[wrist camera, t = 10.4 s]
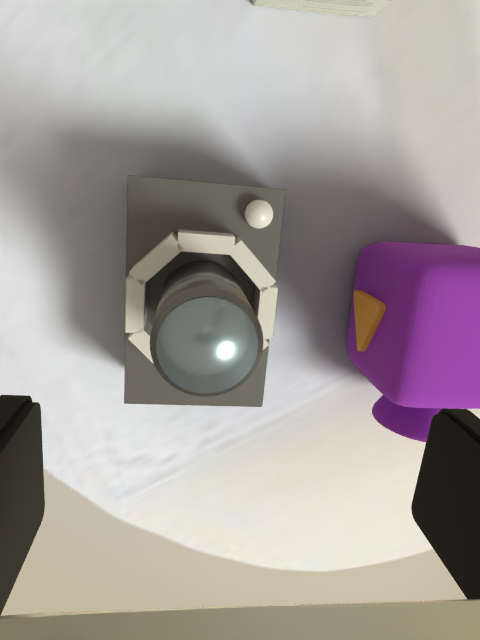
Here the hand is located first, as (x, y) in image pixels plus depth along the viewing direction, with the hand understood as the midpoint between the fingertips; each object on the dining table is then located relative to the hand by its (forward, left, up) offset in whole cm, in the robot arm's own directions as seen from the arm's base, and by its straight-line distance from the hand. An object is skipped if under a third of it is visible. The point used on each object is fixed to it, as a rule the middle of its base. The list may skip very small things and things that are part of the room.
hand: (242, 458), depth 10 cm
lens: (+1, 0, -17) cm, 17 cm away
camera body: (+1, 0, -22) cm, 22 cm away
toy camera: (+3, +16, -23) cm, 28 cm away
